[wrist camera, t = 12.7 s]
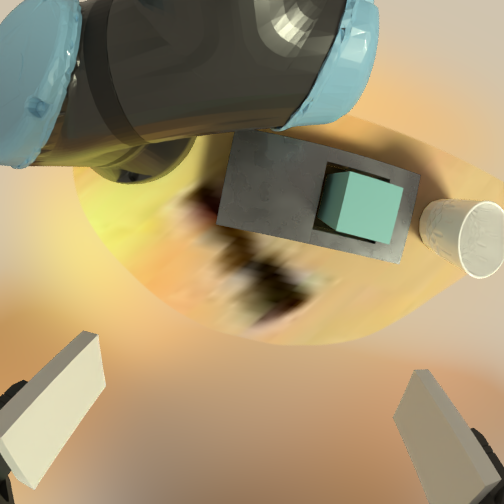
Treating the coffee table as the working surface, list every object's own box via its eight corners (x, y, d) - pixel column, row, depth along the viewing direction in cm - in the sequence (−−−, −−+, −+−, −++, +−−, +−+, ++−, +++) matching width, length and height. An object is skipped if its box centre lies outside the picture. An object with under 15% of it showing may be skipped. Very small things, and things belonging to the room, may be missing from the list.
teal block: (316, 217, 34) (335, 230, 25) (327, 174, 33) (350, 171, 23) (357, 227, 34) (389, 244, 25) (367, 185, 33) (403, 188, 23)
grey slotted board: (221, 219, 35) (216, 224, 31) (239, 132, 33) (235, 126, 29) (386, 255, 35) (399, 264, 31) (405, 175, 32) (420, 175, 29)
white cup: (428, 183, 33) (475, 186, 23) (470, 210, 33) (518, 221, 23) (405, 241, 34) (446, 262, 25) (448, 264, 35) (492, 288, 25)
